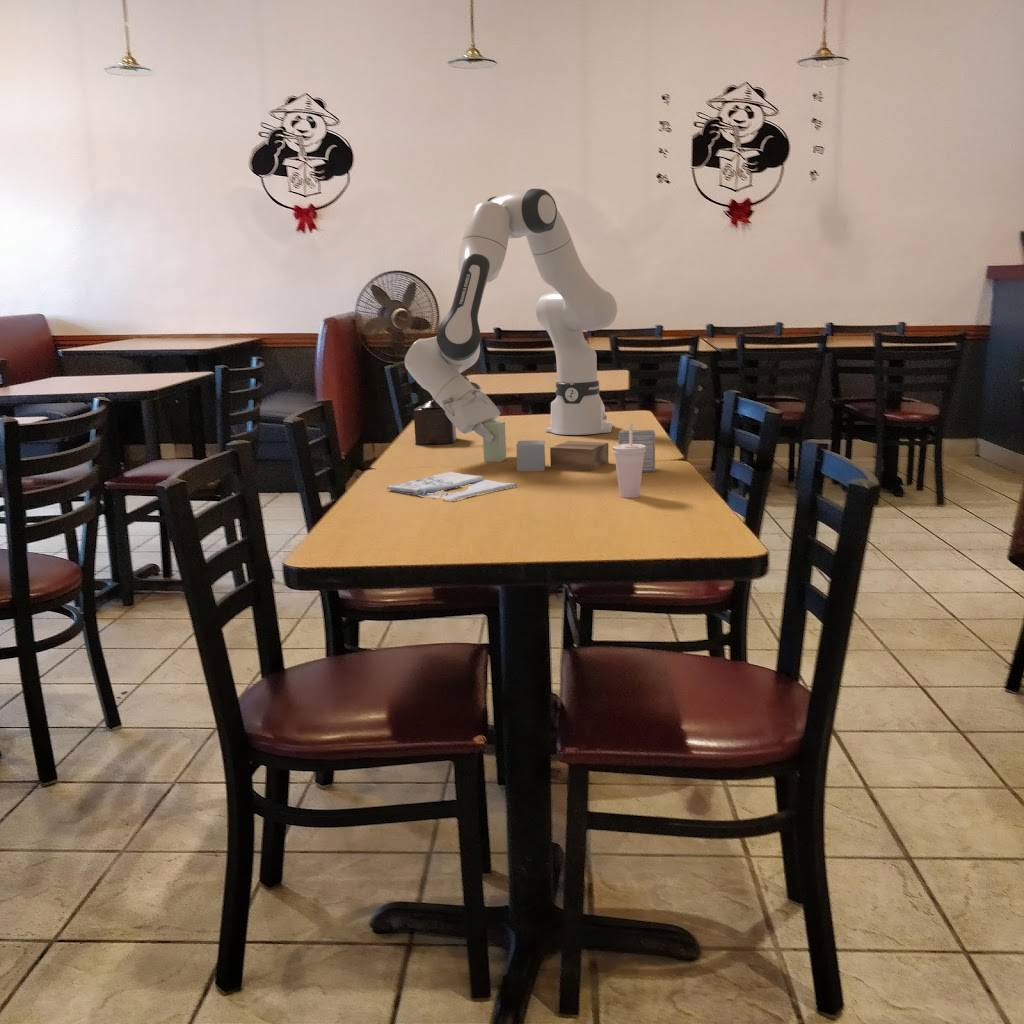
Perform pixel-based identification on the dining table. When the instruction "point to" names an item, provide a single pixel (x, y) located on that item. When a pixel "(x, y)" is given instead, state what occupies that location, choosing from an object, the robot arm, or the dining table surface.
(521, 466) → the slate block
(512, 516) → the dining table surface
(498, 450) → the sage pillar
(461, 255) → the robot arm
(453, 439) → the coffee grinder
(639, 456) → the smoothie
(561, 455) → the walnut block
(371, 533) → the dining table surface
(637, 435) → the medicine box
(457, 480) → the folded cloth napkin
